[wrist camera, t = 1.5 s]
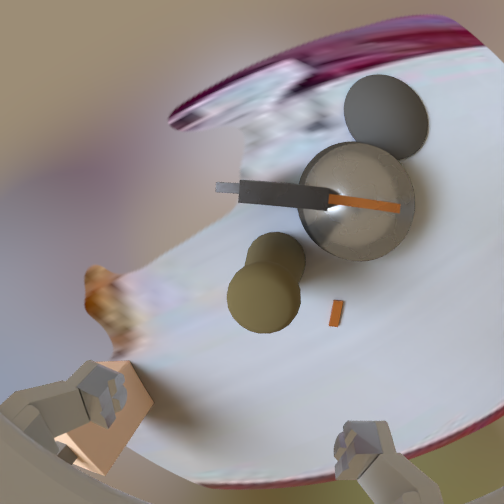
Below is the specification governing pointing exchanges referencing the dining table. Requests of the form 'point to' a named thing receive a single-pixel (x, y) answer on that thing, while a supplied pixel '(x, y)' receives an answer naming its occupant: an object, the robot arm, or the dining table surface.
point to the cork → (268, 284)
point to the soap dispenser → (107, 440)
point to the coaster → (386, 115)
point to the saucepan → (347, 201)
